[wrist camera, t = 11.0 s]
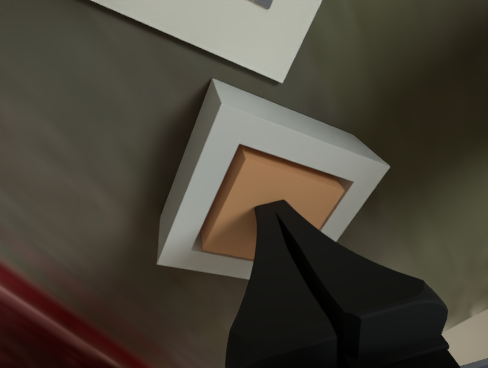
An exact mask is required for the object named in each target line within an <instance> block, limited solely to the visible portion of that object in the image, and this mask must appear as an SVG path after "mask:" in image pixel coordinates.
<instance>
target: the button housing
mask: <svg viewBox="0 0 488 368" xmlns="http://www.w3.org/2000/svg"><path fill="white" fill-rule="evenodd" d="M239 144H242V145H245V146H248V147H251V148H254V149H257V150H260V151H263V152H266V153H269V154H272V155H275V156H278V157H281V158H284V159H287V160H290V161H293V162H296V163H299V164H302V165H305V166H308V167H311V168H314V169H317V170H320V171H323V172H326V173H329V174H332V175H333V176H334V178H335V179H336V180H337V181H338V182H339V184H340V185H341V186H342V187H343V189H344V190H345V191H344V192H343V194H342V195H341V197H340V198H339V200H338V201H337V203H336V204H335V206H334V207H333V209H332V210H331V212H330V213H329V215H328V216H327V218H326V219H325V221H324V222H323V224H322V225H321V227H320V228H319V230H320V231H321V232H322V233H324V234H325V235H327V236H328V237H329V238H331V239H332V240H334V241H335V242H336V241H337V240H338V238H339V237H340V236H341V234H342V233H343V232H344V230H345V229H346V227H347V226H348V225H349V223H350V222H351V220H352V219H353V218H354V216H355V215H356V214H357V212H358V211H359V209H360V208H361V207H362V205H363V204H364V203H365V201H366V200H367V198H368V197H369V196H370V194H371V193H372V191H373V190H374V189H375V187H376V186H377V185H378V183H379V182H380V180H381V179H382V178H383V176H384V175H385V173H386V172H387V171H388V169H389V168H390V166H389V165H388V164H387V163H386V162H384V161H383V160H382V159H381V158H380V157H379V156H377V155H376V154H375V153H374V152H373V151H371V150H370V149H369V148H368V147H367V146H366V145H364V144H363V143H362V142H361V141H360V140H359V139H357V138H356V137H355V136H354V135H352V134H350V133H347V132H345V131H342V130H340V129H337V128H335V127H332V126H330V125H328V124H325V123H323V122H320V121H318V120H315V119H313V118H310V117H308V116H305V115H303V114H300V113H298V112H295V111H293V110H290V109H288V108H285V107H283V106H280V105H278V104H275V103H273V102H270V101H268V100H265V99H263V98H260V97H258V96H255V95H253V94H250V93H248V92H245V91H243V90H240V89H238V88H236V87H233V86H231V85H228V84H226V83H223V82H221V81H218V80H216V79H213V78H212V80H211V82H210V85H209V88H208V90H207V93H206V96H205V98H204V101H203V104H202V107H201V109H200V112H199V115H198V117H197V120H196V123H195V125H194V128H193V131H192V133H191V136H190V139H189V141H188V144H187V147H186V149H185V152H184V155H183V157H182V160H181V163H180V165H179V168H178V171H177V173H176V176H175V179H174V181H173V184H172V187H171V190H170V192H169V195H168V198H167V200H166V203H165V206H164V208H163V211H162V214H161V216H160V227H159V241H158V256H157V264H158V265H164V266H170V267H176V268H182V269H188V270H194V271H201V272H207V273H213V274H219V275H225V276H231V277H237V278H243V279H250V275H251V271H252V266H253V261H254V259H248V258H243V257H238V256H232V255H227V254H222V253H217V252H211V251H206V250H202V240H201V230H200V229H201V226H202V224H203V222H204V220H205V218H206V216H207V213H208V211H209V209H210V207H211V205H212V202H213V200H214V198H215V196H216V194H217V191H218V189H219V187H220V185H221V183H222V180H223V178H224V176H225V174H226V172H227V169H228V167H229V165H230V163H231V161H232V158H233V156H234V154H235V152H236V150H237V147H238V145H239Z"/></svg>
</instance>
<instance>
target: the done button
mask: <svg viewBox="0 0 488 368" xmlns="http://www.w3.org/2000/svg"><path fill="white" fill-rule="evenodd" d="M344 191H345V190H344V189H343V187H342V186H341V185H340V184H339V182H338V181H337V180H336V179H335V178H334V176H333V175H332V174H329V173H326V172H323V171H320V170H317V169H314V168H311V167H308V166H305V165H302V164H299V163H296V162H293V161H290V160H287V159H284V158H281V157H278V156H275V155H272V154H269V153H266V152H263V151H260V150H257V149H254V148H251V147H248V146H245V145H242V144H239V145H238V147H237V150H236V152H235V154H234V156H233V158H232V161H231V163H230V165H229V167H228V169H227V172H226V174H225V176H224V178H223V180H222V183H221V185H220V187H219V189H218V191H217V194H216V196H215V198H214V200H213V202H212V205H211V207H210V209H209V211H208V213H207V216H206V218H205V220H204V222H203V224H202V226H201V229H200V230H201V240H202V250H206V251H211V252H217V253H222V254H227V255H232V256H238V257H243V258H248V259H254V256H255V248H256V239H257V222H256V216H255V211H254V208H255V207H256V206H258V205H262V204H266V203H270V202H274V201H278V200H283V199H284V200H285V201H287V202H288V203H289V204H290V205H291V206H292V207H293V208H294V209H295V210H296V211H297V212H298V213H299V214H300V215H301V216H302V217H304V218H305V219H306V220H307V221H308V222H310V223H311V224H312V225H313V226H315V227H316V228H317V229H318V230H319V228H320V227H321V225H322V224H323V222H324V221H325V219H326V218H327V216H328V215H329V213H330V212H331V210H332V209H333V207H334V206H335V204H336V203H337V201H338V200H339V198H340V197H341V195H342V194H343V192H344Z"/></svg>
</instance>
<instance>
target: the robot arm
mask: <svg viewBox="0 0 488 368" xmlns="http://www.w3.org/2000/svg"><path fill="white" fill-rule="evenodd" d="M254 211H255V216H256V222H257V239H256V248H255V256H254V261H253V266H252V271H251V275H250V279H249V282H248V286H247V289H246V292H245V295H244V298H243V301H242V303H241V306H240V309H239V311H238V314H237V316H236V318H235V320H234V322H233V324H232V327H231V329H230V331H229V338H228V343H227V350H226V360H225V368H488V358H487V359H483V360H480V361H477V362H473V363H469V364H466V365H463V366H459V365H458V363H457V362H456V361H455V359H454V358H453V357H452V355H451V354H450V353H449V351H448V350H447V349H449V345H448V343H447V341H445V339H444V338H443V336H442V335H441V334H442V331H443V328H444V325H445V322H446V320H447V314H448V309H447V306H446V305H445V303H444V302H443V301H442V300H441V299H440V298H439V296H438V295H437V294H436V293H435V292H434V291H433V290H432V289H431V288H430V287H429V286H428V285H427V284H426V283H425V282H424V281H423V280H421V279H418V278H415V277H412V276H409V275H406V274H403V273H400V272H397V271H394V270H391V269H389V268H387V267H384V266H382V265H379V264H377V263H375V262H372V261H370V260H368V259H366V258H364V257H362V256H360V255H358V254H356V253H354V252H352V251H350V250H349V249H347V248H345V247H344V246H342V245H340V244H339V243H337V242H335V241H334V240H332V239H331V238H329V237H328V236H327V235H325V234H324V233H322V232H321V231H320V230H318V229H317V228H316V227H315V226H313V225H312V224H311V223H310V222H308V221H307V220H306V219H305V218H304V217H302V216H301V215H300V214H299V213H298V212H297V211H296V210H295V209H294V208H293V207H292V206H291V205H290V204H289V203H288V202H287V201H285V200H284V199H283V200H278V201H274V202H270V203H266V204H262V205H258V206H256V207H255V208H254Z"/></svg>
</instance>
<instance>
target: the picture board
mask: <svg viewBox="0 0 488 368" xmlns="http://www.w3.org/2000/svg"><path fill="white" fill-rule="evenodd" d="M91 1H94V2H96V3H98V4H100V5H103V6H105V7H107V8H110V9H112V10H114V11H117V12H119V13H121V14H124V15H126V16H128V17H130V18H133V19H135V20H137V21H140V22H142V23H144V24H147V25H149V26H151V27H154V28H156V29H158V30H160V31H163V32H165V33H167V34H170V35H172V36H174V37H177V38H179V39H181V40H184V41H186V42H188V43H191V44H193V45H195V46H197V47H200V48H202V49H204V50H207V51H209V52H211V53H214V54H216V55H218V56H221V57H223V58H225V59H227V60H230V61H232V62H234V63H237V64H239V65H241V66H244V67H246V68H248V69H251V70H253V71H255V72H257V73H260V74H262V75H264V76H267V77H269V78H271V79H274V80H276V81H278V82H281V83H283V81H284V79H285V77H286V75H287V73H288V70H289V68H290V66H291V64H292V62H293V60H294V58H295V56H296V54H297V52H298V50H299V47H300V45H301V43H302V41H303V39H304V37H305V35H306V33H307V31H308V29H309V27H310V24H311V22H312V20H313V18H314V16H315V14H316V12H317V10H318V8H319V6H320V4H321V1H322V0H91Z"/></svg>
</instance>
